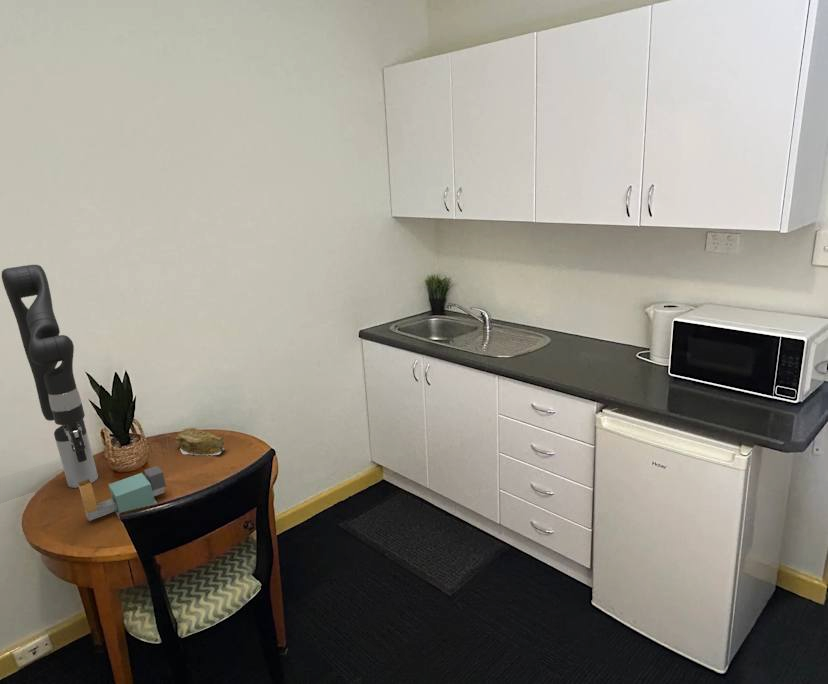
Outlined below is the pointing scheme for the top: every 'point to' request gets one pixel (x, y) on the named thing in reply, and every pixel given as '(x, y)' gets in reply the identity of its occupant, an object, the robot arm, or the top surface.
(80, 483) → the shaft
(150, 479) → the block
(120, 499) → the block
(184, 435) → the stone
